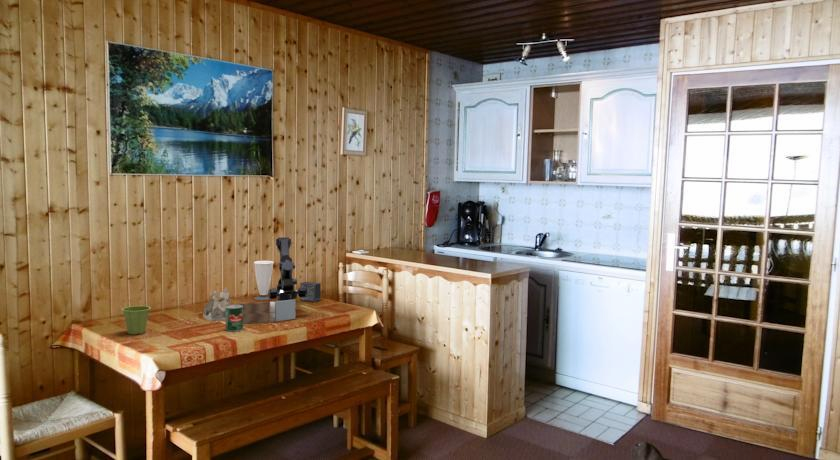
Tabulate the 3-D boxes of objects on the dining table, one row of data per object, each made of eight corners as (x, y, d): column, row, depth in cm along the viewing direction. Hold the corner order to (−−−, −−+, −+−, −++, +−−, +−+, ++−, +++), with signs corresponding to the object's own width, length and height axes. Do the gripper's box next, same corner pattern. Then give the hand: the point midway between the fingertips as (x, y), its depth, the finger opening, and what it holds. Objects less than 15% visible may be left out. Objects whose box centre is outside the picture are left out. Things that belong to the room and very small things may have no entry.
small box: (321, 300, 349) (321, 282, 348) (314, 302, 343) (314, 284, 342) (306, 298, 353) (306, 281, 353) (299, 300, 348) (299, 282, 347)
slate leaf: (271, 322, 293) (271, 302, 293) (269, 321, 295) (269, 301, 294) (296, 318, 301) (296, 299, 300) (294, 317, 303) (293, 299, 302)
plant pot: (149, 335, 267) (148, 310, 266) (119, 336, 264) (119, 311, 263) (152, 328, 279) (152, 305, 278) (124, 330, 275) (124, 306, 274)
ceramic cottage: (209, 312, 313) (209, 284, 310) (239, 315, 310) (238, 287, 308) (193, 321, 298) (193, 292, 295) (224, 324, 295) (223, 295, 292)
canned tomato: (233, 332, 275) (233, 308, 274) (221, 329, 279) (221, 306, 278) (246, 328, 281) (246, 305, 280) (235, 326, 286) (235, 303, 285)
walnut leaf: (274, 321, 297) (274, 301, 296) (275, 322, 294) (275, 302, 293) (239, 323, 292) (239, 302, 291) (239, 324, 290) (239, 303, 289)
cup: (250, 299, 348) (250, 262, 346) (259, 295, 359) (259, 260, 357) (268, 300, 346) (268, 263, 344) (277, 296, 357) (277, 261, 355)
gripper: (268, 273, 301) (270, 299, 292) (306, 271, 307) (309, 297, 298) (268, 285, 310) (269, 311, 301) (304, 283, 315) (307, 309, 306)
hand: (289, 307), depth 301 cm, fingers closed
